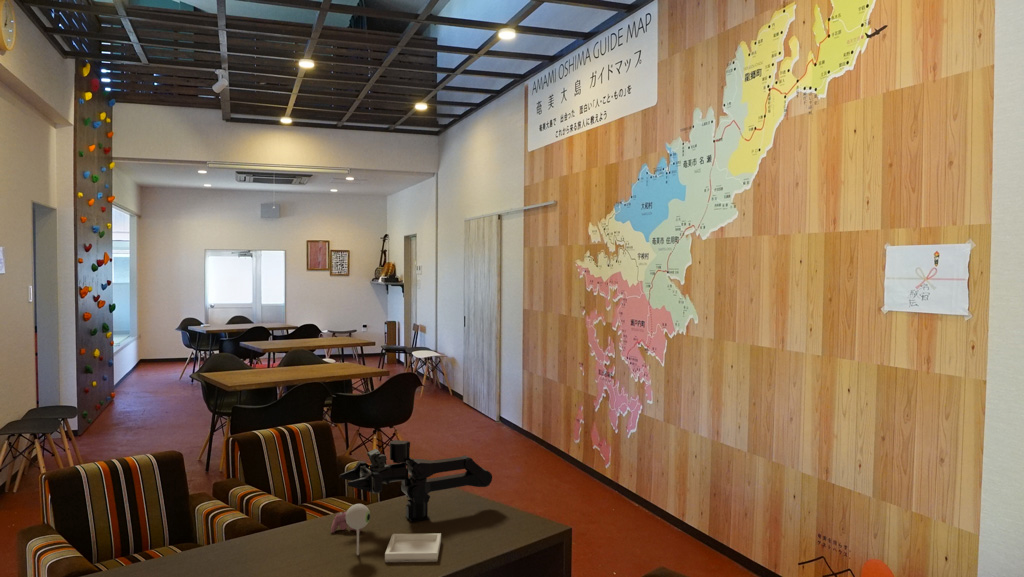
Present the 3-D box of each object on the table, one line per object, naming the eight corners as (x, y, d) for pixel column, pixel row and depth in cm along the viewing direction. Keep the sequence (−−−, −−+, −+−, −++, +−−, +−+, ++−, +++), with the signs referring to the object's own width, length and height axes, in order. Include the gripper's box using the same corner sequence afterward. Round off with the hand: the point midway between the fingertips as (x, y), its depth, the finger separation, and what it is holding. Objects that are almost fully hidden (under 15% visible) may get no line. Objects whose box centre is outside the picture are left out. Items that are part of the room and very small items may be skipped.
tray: (392, 541, 208) (392, 533, 208) (440, 541, 208) (440, 533, 208) (384, 562, 193) (384, 553, 193) (437, 561, 193) (437, 553, 193)
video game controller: (363, 535, 217) (366, 512, 220) (359, 533, 213) (362, 510, 216) (333, 534, 218) (337, 511, 221) (328, 532, 214) (332, 509, 217)
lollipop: (364, 560, 194) (364, 509, 193) (341, 558, 195) (341, 507, 195) (373, 551, 200) (374, 501, 200) (351, 549, 202) (351, 499, 202)
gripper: (381, 443, 231) (335, 448, 224) (399, 455, 215) (351, 462, 208) (381, 475, 232) (336, 482, 224) (399, 490, 215) (351, 498, 208)
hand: (343, 480), depth 216 cm, fingers open, 9 cm apart
